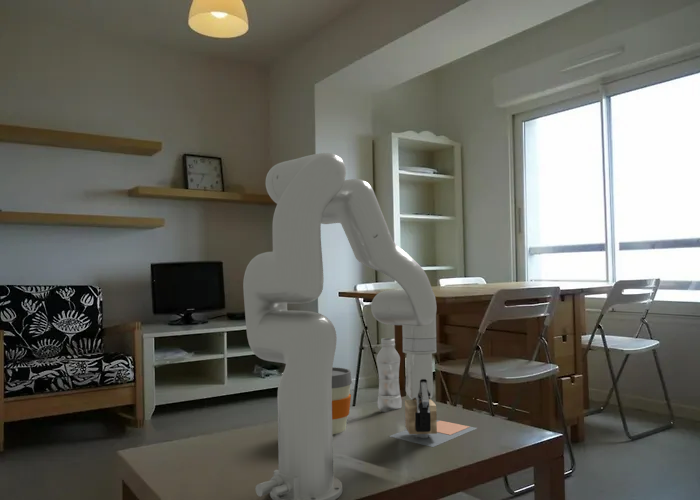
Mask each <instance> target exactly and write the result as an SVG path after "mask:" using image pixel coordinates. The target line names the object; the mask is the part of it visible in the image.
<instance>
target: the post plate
mask: <svg viewBox="0 0 700 500" xmlns="http://www.w3.org/2000/svg"><path fill="white" fill-rule="evenodd" d="M477 429H478V427H473V426H469V425H463V424H459V423H454V422H449V421H443V420H439V419H437V434H409V432H408V431H407V429H405V430H402V431H400V432H396V433H394V434H391V435H388V437H390V438H395V439H398V440H402V441H406V442H410V443H414V444H418V445H422V446H427V447H431V448H434V447H437V446H439V445H442V444H445V443H447V442H448V441H450V440H453V439H455V438H459V437H460V436H463V435H465V434H468V433H471V432H472V431H475V430H477Z"/></svg>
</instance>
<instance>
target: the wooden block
mask: <svg viewBox="0 0 700 500" xmlns="http://www.w3.org/2000/svg"><path fill="white" fill-rule="evenodd" d="M420 402H422V401H419V404H420ZM429 404H430V417H431V431H429V432H417V431H416V421H415V412H417V408H416V400H412V399H405V400H404V411H405V412H404V414H405V416H404V418H405V419H404V420H405V424H404V425H405V428H406V429H405V430H407V431H408V432H409V434H437V420H438V419H437V405H436V403H435V402H434V401H433V400H432V399H429ZM419 406H420V405H419Z"/></svg>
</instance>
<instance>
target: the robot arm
mask: <svg viewBox="0 0 700 500" xmlns="http://www.w3.org/2000/svg"><path fill="white" fill-rule="evenodd" d="M346 170H347V169H346V164H345V162H344V161H343V159H342V158H341V157H340V156H339V155H337V154H335V153H332V152H320V153H314V154H310V155H306V156H302V157H298V158H295V159H290V160H285V161H282V162H278V163H276V164H275V165H273V166H272V167H271V168H270V169H269V171H268V172H267V174H266V177H265V188H266V192H267V194H268V195H269V197H270V199H271V200H272V201H273V202H274V203H275V204H276V207H275V210H274V213H273V218H272V251H266V252H262V253H259V254H257V255H255V256H254V257H253V258H252V259H251V260H250V261H249V263H248V264H247V266H246V268H245V271H244V276H243V281H242V282H243V283H242V285H243V287H242V289H243V300H244V301H243V302H244V316H245V317H244V318H245V328H246V329H245V330H246V337H247V341H248V345H249V347H250V350H251V351H252V353H253V354H254V355H255V356H256V357H258V358H259V359H261V360H263V361H267V362H272V363H273V362H274V363H282V364H285V367H284V370H283V372H282V375H281V377H280V380H279V383H278V386H277V387H278V388H277V398H276V399H277V443H278V445H277V447H278V449H277V450H278V451H277V452H278V469H274V470H273V476H271V478H270V479H269V480H268V481H263V482H261V483H257V484H256V485H255V493H256V495H257V496H258V497H263V496H265V495H268V494H269V496H270V498H271V500H337V499H338V498H340V496H342V493H343V483H342V482H341V480H339V479H338V478H337V477H334V448H333V447H334V446H333V445H334V442H333V441H334V440H333V434H332V368H333V366H334V360H335V353H336V348H337V331H336V327H335V326H334V324H333V322H332V321H331V320H330V319H329V318H328V317H327V316H325V315H324V314H322V313H318V312H316V311H311V310H295V309H293V310H290V309H289V310H288V304H306V303H307V304H308V303H311V302H314V301H316V300H317V299H319V297H320V296H321V294H322V293H323V289H324V264H323V263H324V262H323V253H322V252H323V251H322V249H323V248H322V237H321V236H322V235H321V234H322V232H321V231H322V230H321V225H322V224H323V225H330V224H331V225H332V224H340V225H341V227H342V229H343V231H344V234H345V235H346V239H347V241H348V243H349V245H350V248H351V250H352V253H353V255H354V257H355V259H356V260H357V261H358V262H359V263H361V264H363V265H364V266H366V267H368V268H370V269H373V270H375V271H376V272H378V273H382V274H383V275H385V276H387V277H389V278H390V279H393V281H395V282H396V283H397V284H399V286H400V287H401V288H402V289H387V290H383V291H380V292H378V293H376V295H375V296H374V297H373V299H371V300H372V301H371V305H370V311H371V315H372V316H373V318H374V319H375V320H376V321H378V322H379V323H381V324H384V325H388V326H389V325H390V326H402V327H401V328H402V330H401V331H402V353H404V354H406V356H405V357H406V359H405V392H406V394H407V396H408V397H409V400H416V408H417V412H415V421H416V431H417V432H429V431H431V417H430V404H429V400H432V398H433V393H434V392H433V391H434V380H433V379H434V377H433V376H434V375H433V374H434V373H433V354H436V353H437V311H438V310H437V307H438V306H437V300H436V294H435V292H434V289H433V287H432V285H431V282H430V279H429V277H428V275H427V273H426V271H425V270H424V269H423V267H422V266H421V265H420V264H419V263H418V262H417V261H416V260H415V259H414V258H413V257H411V255H410V254H408V253H407V252H406V251H405V250H404V249H402V248H401V247H400V246H398V245H397V244H396V243H395V242H394V239H393V237H392V234H391V232H390V231H391V230H390V229H389V227H388V224H387V221H386V219H385V217H384V214H383V212H382V209H381V206H380V203H379V201H378V199H377V196H376V193H375V191H374V189H373V187H372V186H371V185H370V183H369V182H367V181H365V180H363V179H359V178H350V179H346V175H347V172H346ZM419 401H422V402H420V404H419ZM419 405H420V406H419Z"/></svg>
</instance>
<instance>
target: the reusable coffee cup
mask: <svg viewBox="0 0 700 500" xmlns="http://www.w3.org/2000/svg"><path fill="white" fill-rule="evenodd" d="M352 383H353V382H352V374H351V370H350V369H348V368H344V367H337V366H336V367H335V366H334V367H333V368H332V435H337V434H340V433H343V432H345V431H346V429H347V421H348V420H347V419H348V416H349V414H350V407H351V400H352V395H351V391H350V390H351V385H352Z"/></svg>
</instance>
